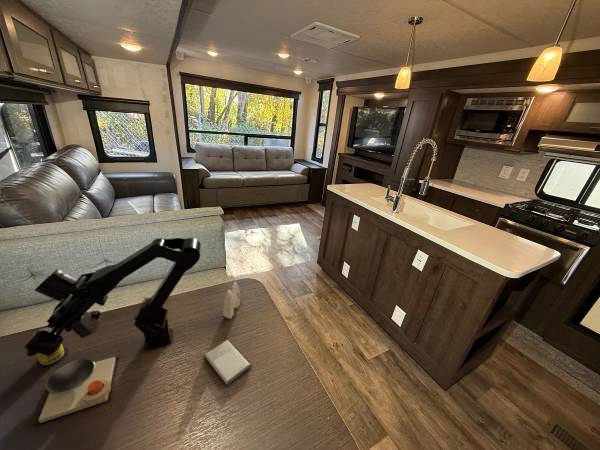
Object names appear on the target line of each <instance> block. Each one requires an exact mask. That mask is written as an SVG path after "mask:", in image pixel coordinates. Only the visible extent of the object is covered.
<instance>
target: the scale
mask: <svg viewBox="0 0 600 450" xmlns="http://www.w3.org/2000/svg"><path fill="white" fill-rule="evenodd" d="M93 362H94V361H93ZM115 364H116V356H113V357H109V358H106V359H102V360H98V361H95V362H94V365H95V370H94V372H93V374H92V376H91V377H90V378H89V379H88V380H87V381H86V382H85V383H84V384H83V385H81V386H80V387H78V388H76V389H75V390H72V391H70V392H67V393H64V394H51V393H50V392H48V393H49V394H48V396H47V398H46V400H45V403H44V406H43V408H42V410H41V413H40V415H39V418H38V422H39V424H42V423H45V422H47V421H51V420H54V419H57V418H59V417H60V418H61V417H63V416H66V415H69V414H72V413H75V412H77V411H82V410H84V409H86V408H90V407H93V406H96V405H99V404H102V403H105V402H107V401H108V399H109V394H110V392H111V388H112V385H111V384H112V379H113V375H114V374H113V373H114V370H115V366H116V365H115ZM95 380H100V381H101V383H102V385H103V388H102V390H101V391H100V392H99V393H97V394H95V395H90V394H89V392H88V389H87V388H88V386H89V384H90V383H92V382H93V381H95Z"/></svg>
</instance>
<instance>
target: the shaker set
mask: <svg viewBox="0 0 600 450" xmlns="http://www.w3.org/2000/svg"><path fill="white" fill-rule="evenodd" d="M240 305H241V292H240V288H239V286H238V283H237V282H235V281H234V282H233V284H232V287H231V289H228V290H227V291H226V294H225V297H224V300H223V310H222V311H223V312H222V316H224V317H225V318H226V319H232V318H233V316H234V315H235V309H238V308H239V306H240Z"/></svg>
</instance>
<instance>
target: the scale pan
mask: <svg viewBox="0 0 600 450" xmlns="http://www.w3.org/2000/svg"><path fill="white" fill-rule="evenodd" d="M94 370H95V365H94V361H93V360H92V359H89V358H79V359H75V360H72V361H69V362H67V363H65V364H64V365H62V366H60V367H59V368H58V369H57V370H56V371H54V372H53V373H52V374H51V375H50V377H49V379H47V382H46V390H47V391H48V393H51V394H64V393H67V392H70V391H72V390H75V389H76V388H78V387H80V386H81V385H83V384H84V383H85V382H86V381H87V380H88V379H89V378H90V377H91V376H92V374H93V372H94Z"/></svg>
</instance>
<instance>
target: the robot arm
mask: <svg viewBox="0 0 600 450" xmlns="http://www.w3.org/2000/svg"><path fill="white" fill-rule="evenodd" d="M201 250H202V244H201V242H200V240H198V239H197V238H194V237H188V238H184V237H183V238H182V237H175V238H155V239H153V240H152V241H151V242H150V243H149V244H147V245H145V246H144V247H141V249H139V250H136V251H135V252H134V253H132V254H131V255H129V256H127V257H126V258H124V259H123V260H121V261H119V262H117V263H115V264H110V265H106V266H104V267H102V268H98V269H97V270H95V271H93V272H87V273H83V274H81V275H80V276H79V277H78V278H74V277H73V276H70V275H68V274H66V273H64V271H61V270H59V269H55V270H54V271H53V272H52V273H50V274H49V275H48V276H47V277H46V278H45V279H44V280H42V282H41V283H40V284H39V285H38V286H37V287H36V288H35V289H34V290H33V291H34V292H36V293H38V294H41V295H42V296H46V297H48V298H50V299H53V300H55V301H57V302H58V303H57V304H56V306H55V307H54V308H53V311H52V314H51V315H50V316H49V318H48V319H47V320H46V321H45V322H46V323H48V324H47V327H46V328H52V330H51V331H50V332H48V331H45V330H41V329H40V330H41V331H39V330H37V331H35V332H34V333H35V334H34V333H33V334H32V336H31V337H30V338H29V339H28V341H27V342H26V343H25V344H24V349H25V350H26V356H28V357H33V356H35V355H36V354H38V353H40V354H44V355H47V356H50V355H52V354H53V353H54V352H55V351H56V350H57V349H58V348H59V346H60V344H62V343H63V342H64V338H63V336H62V335H61V334H62V333H63V331H66V332H68V333H70V332H71V331H73V332H74V334H77V335H78V336H79V338H81V339H84V338H86V337H88V336H90V335H92V334H95V333H96V331H97V330H98V327H99V325H100V321H101V320H100V317H101V315H102V312H101V311H100V310H91V311H89V310H90V309H91V308H93V306H94V305H95V304H96V305H99V306H101V307H104V306H105V304H106V302H107V300H108V299H109V296H108V294H110V293H111V292H112V291H113V290H114V289H115V288H116V287H117V286H118V285H119V284H120V283H121V282H122V281H123V280H124V279H125V278H127V277H128V276H131V274H133V273H135V272H137V271H138V270H139V269H141V268H143V267H145V266H146V265H148V264H149V263H151V262H152V261H154V260H155V259H158V258H160V259H164V260H168V261H170V262H173V263H172V265H171V267H170V268H169V270H168V272H167V273H166V274H165V276H164V277H163V279H162V280H161V282H160V284H159V285H158V287H157V289H156V290H155V291H154V293H153V294H152V295H151V296H150V297H148V296H144V297H143V300H142V301H141V303H139V305H138V306H137V309H136V312H135V314H134V317H133V320H134V326H135V327H136V328H137V329H138V330H140V332H141V333H142V334H143V336H144V341H145V344H146V345H147V346H146V347H147V350H151V349H155V348H159V347H163V346H165V345H169V344H171V328H170V326H169V319H167V317H168V313H169V310H168V309H166V308H164V307H163V306H164V305H165V303H166V302H167V300H168V299H169V298H170V296H171V294H172V293H173V292H174V289H175V288H176V287H177V285H178V283H180V281H181V279H182V278H183V276H184V274H185V273H186V272H188V271H189V270H191V269H193V267H194V266H195V265H196V264H197V263H198V262H199V261H200V258H201ZM55 333H56V334H55Z"/></svg>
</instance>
